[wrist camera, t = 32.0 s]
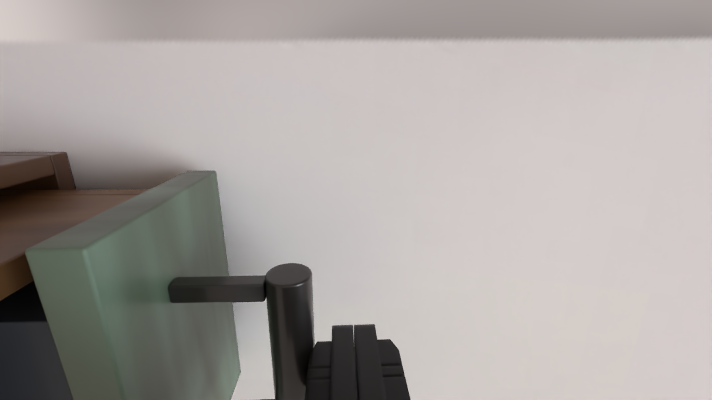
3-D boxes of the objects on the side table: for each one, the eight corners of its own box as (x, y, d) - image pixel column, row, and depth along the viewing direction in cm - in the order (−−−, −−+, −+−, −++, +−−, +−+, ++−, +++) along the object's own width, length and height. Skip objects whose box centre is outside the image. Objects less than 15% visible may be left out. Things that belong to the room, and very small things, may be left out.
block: (32, 251, 13) (-114, 325, 9) (146, 249, 13) (56, 321, 9) (62, 342, 14) (-53, 444, 10) (165, 340, 15) (94, 439, 10)
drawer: (319, 170, 14) (297, 246, 7) (324, 369, 17) (312, 562, 10) (-107, 170, 13) (-628, 257, 6) (-18, 379, 16) (-293, 595, 9)
